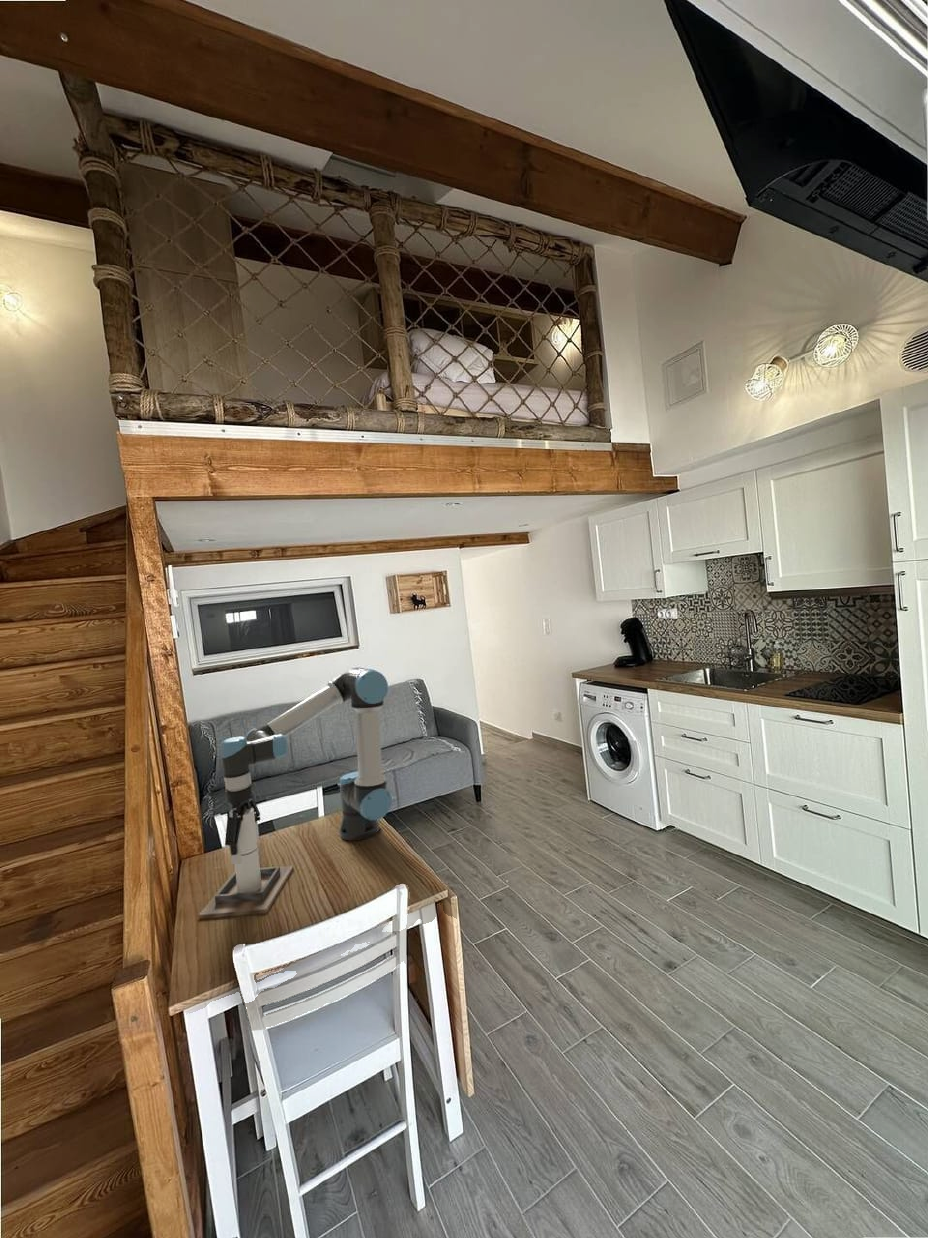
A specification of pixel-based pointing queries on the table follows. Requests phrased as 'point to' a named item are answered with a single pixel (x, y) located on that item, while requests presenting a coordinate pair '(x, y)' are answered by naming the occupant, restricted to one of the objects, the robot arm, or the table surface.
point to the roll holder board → (247, 895)
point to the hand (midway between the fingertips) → (246, 852)
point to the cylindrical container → (248, 856)
